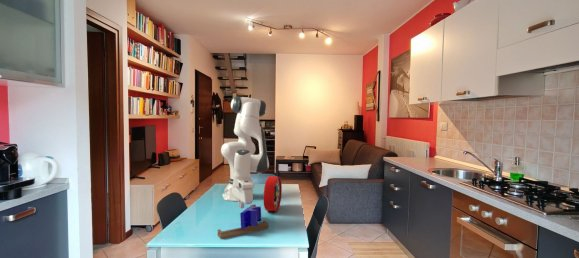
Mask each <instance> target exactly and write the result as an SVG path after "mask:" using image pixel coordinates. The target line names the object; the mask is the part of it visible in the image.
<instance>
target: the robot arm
mask: <svg viewBox="0 0 579 258" xmlns="http://www.w3.org/2000/svg"><path fill="white" fill-rule="evenodd" d="M230 108H231V111H232V112H233V113H235V114H236V118H235V123H234V128H233V133H234V135H236V136H237V137H238V140H237V141H228V142H225V143H223V144H222V146H221V148H220V153H221V155H222V156H223V158H225V159H226V161H227V162H228V165H229V169H230V170H229V171H230V173H229V175H230V177H229V180H228V181H229V182H228V184H227V186H225V188H224V189H223V190H224V191H223V193H222V197H223V199H224V201H227V202H228V201H230V202H231V201H232V202H238V207H239V208H240V209H244V208H245V205H250V204H251V205H252V203H253V200H254V199H253V198H254V189H253V188H254V187H255V184H254V182H253V180H252V175H251V173H257V174H265V173H266V172H267V171H268V170H269V167H270V163H269V158H268V151H267V144H266V143H267V142H266V136H265V135H266V134H265V130H264V128H263V127H261V125H260V117H263V116H264V115H265V113H266V112H267V103H266V102H265V101H264V100H261V99H256V98H254V97H246V96H238V95H237V96H234V97H233V98H232V99H231V102H230ZM252 138H254V139H256V140H257V141H258V149H259V153H258V154H255V153H256V145H255V143H254V142H253V140H252Z"/></svg>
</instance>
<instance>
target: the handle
mask: <svg viewBox="0 0 579 258" xmlns="http://www.w3.org/2000/svg"><path fill="white" fill-rule="evenodd" d="M268 229H269V222H268V221H266V220H262V222H259V223H257V226H247V227H246V228H245V229H241V227H237V228H232V229H227V230H221V229H220V228H219V229H217V237H218V238H219V239H220V240H222V239H227V238H231V237H236V236H241V235H246V234H250V233H255V232H258V231H263V230H268Z"/></svg>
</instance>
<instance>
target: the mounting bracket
mask: <svg viewBox="0 0 579 258" xmlns="http://www.w3.org/2000/svg"><path fill="white" fill-rule="evenodd" d="M239 215H240V217H239V218H240V228H241V229H245V228H246V227H247V226H257V224H258V223H262V222H263V220H262V206H257V205H256V204H251V205H249V206H248V207H247V208H245V209H244V210H243V211H241V212H240V213H239Z"/></svg>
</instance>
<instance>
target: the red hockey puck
mask: <svg viewBox="0 0 579 258" xmlns="http://www.w3.org/2000/svg"><path fill="white" fill-rule="evenodd" d="M282 186H283V185H282V179H281V177H280V176H272V175H271V176H270V175H269V176H267V178H266V179H265V183H264V187H263V197H262V198H263V200H262V201H263V208H264V210H265V211H267V212H268V211H269V212H278V211H279V209H280V206H281V202H282V194H283V192H282V191H283V189H282V188H283V187H282Z"/></svg>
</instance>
